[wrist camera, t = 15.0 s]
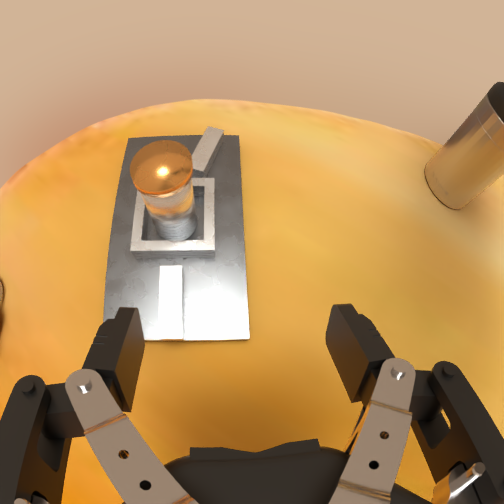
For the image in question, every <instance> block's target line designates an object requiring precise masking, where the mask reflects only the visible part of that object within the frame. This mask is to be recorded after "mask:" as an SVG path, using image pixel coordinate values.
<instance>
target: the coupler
mask: <svg viewBox="0 0 504 504" xmlns="http://www.w3.org/2000/svg"><path fill="white" fill-rule="evenodd" d="M192 174H193V163H192V156H191V153H190V152H189V150H188V149H187V148H186V147H185V146H184V145H183V144H181V143H179V142H176V141H172V140H160V141H155V142H152V143H150V144H148V145H146V146H144V147H143V148H141V149H140V150H139V151H138V152H137V153H136V154H135V156H134V157H133V159H132V161H131V164H130V175H131V178H132V180H133V183H134V185H135V187H136V188H137V190H138V191H139V192H140V193H141V195H142V198H143V200H144V203H145V205H146V207H147V210H148V212H149V214H150V217H151V219H152V221H153V224H154V226H155V228H156V230H157V232H158V234H159V235H160V236H161V237H162V238H163V239H165V240H185V239H187V238H188V237H190V236H191V235H192V234H193V232H194V231H195V229H196V226H197V215H196V208H195V200H194V193H193V185H192Z"/></svg>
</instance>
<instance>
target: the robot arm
mask: <svg viewBox="0 0 504 504" xmlns="http://www.w3.org/2000/svg"><path fill="white" fill-rule="evenodd" d="M503 174H504V83H503V82H497V83H496V84H494V85H493V87H492V88H491V89H490V90H489V92H488V93H487V94H486V95H485V97H484V98H483V99H482V100H481V102H480V103H479V104H478V105H477V107H476V108H475V109H474V110H473V112H472V113H471V114H470V115H469V116H468V118H467V119H466V120H465V121H464V122H463V124H462V125H461V126H460V127H459V128H458V129H457V131H456V132H455V133H454V134H453V135H452V137H451V138H450V139H449V140H448V141H447V142H446V143H445V144H444V146H443V147H442V148H441V149H440V150H439V151H438V152H437V153H436V154H435V156H434V157H433V158H432V159H431V160H430V161H429V162H428V163H427V165H426V167H425V176H426V179H427V182H428V184H429V186H430V188H431V190H432V191H433V193H434V194H435V196H436V197H437V198H438V199H439V200H440V201H441V202H442V203H444V204H445V205H446V206H448V207H450V208H452V209H461V208H463V207H464V206H465V205H467V204H468V203H469V202H470V201H472V200H473V199H474V198H475V197H477V196H478V195H479V194H480V193H482V192H483V191H484V190H485V189H486V188H488V187H489V186H490V185H491V184H492V183H494V182H495V181H496V180H497V179H498V178H499V177H501V176H502V175H503ZM326 345H327V348H328V350H329V352H330V355H331V357H332V359H333V361H334V364H335V366H336V368H337V370H338V373H339V375H340V377H341V379H342V382H343V384H344V386H345V389H346V391H347V393H348V396H349V398H350V400H351V403H354V402H359V401H362V403H363V407H362V409H361V411H360V414H359V416H358V419H357V421H356V424H355V426H354V428H353V431H352V433H351V435H350V438H349V440H348V442H347V444H346V446H345V448H344V450H343V451H340V450H337V449H333V448H329V447H321V446H319V442H318V439H311V440H304V441H297V442H289V443H285V444H282V445H279V446H276V447H273V448H270V449H267V450H264V451H261V452H256V453H254V452H246V451H240V450H234V449H228V448H223V447H215V448H198V447H190V455H189V456H184V457H181V458H178V459H175V460H173V461H171V462H169V463H167V464H165V465H164V466H163V464H162V463H161V462H160V461H159V459H158V458H157V457H156V456H155V454H154V453H153V452H152V450H151V449H150V448H149V446H148V445H147V444H146V442H145V441H144V440H143V438H142V437H141V435H140V434H139V433H138V431H137V430H136V428H135V427H134V425H133V424H132V423H131V421H130V420H129V418H128V417H127V415H126V414H123V412H131V409H132V404H133V399H134V394H135V389H136V384H137V380H138V375H139V371H140V366H141V362H142V358H143V353H144V346H145V341H144V334H143V329H142V324H141V319H140V314H139V310H138V308H137V307H119V309H118V311H117V313H116V316H115V318H114V319H107V320H106V321H105V322H104V323H103V324H102V325H100V327H99V329H98V331H97V334H96V337H95V338H94V341H93V344H92V345H91V348H90V350H89V352H88V355H87V357H86V360H85V362H84V364H83V367H82V369H81V370H77V371H75V372H73V373H72V374H71V375H70V376H69V377H68V378H67V380H66V382H65V383H59V384H51V385H45V383H44V381H43V380H42V379H41V378H40V377H38V376H35V375H28V376H25V377H23V378H21V379H20V380H19V381H18V382H17V383H16V384H15V386H14V388H13V390H12V393H11V395H10V397H9V400H8V402H7V405H6V407H5V410H4V412H3V415H2V418H1V420H0V504H61V500H62V493H63V485H64V479H65V473H66V467H67V461H68V456H69V450H70V445H71V440H72V438H74V437H82V436H86V438H87V440H88V442H89V444H90V446H91V448H92V450H93V451H94V453H95V455H96V457H97V459H98V460H99V462H100V464H101V466H102V467H103V469H104V471H105V472H106V474H107V476H108V477H109V479H110V480H111V482H112V484H113V485H114V487H115V488H116V490H117V491H118V493H119V494H120V496H121V497H122V499H123V500H124V502H123V503H122V504H504V439H503V437H502V435H501V434H500V432H499V430H498V429H497V427H496V425H495V423H494V422H493V420H492V418H491V417H490V415H489V413H488V412H487V410H486V409H485V407H484V405H483V404H482V402H481V401H480V399H479V398H478V396H477V394H476V393H475V391H474V390H473V388H472V387H471V385H470V384H469V382H468V381H467V379H466V378H465V376H464V375H463V373H462V372H461V370H460V369H459V368H458V367H457V366H456V365H454V364H453V363H450V362H447V361H440V362H438V363H436V364H435V365H434V367H433V369H432V371H421V370H415V369H414V367H413V366H412V365H411V364H410V363H409V362H407V361H405V360H403V359H400V358H395V356H394V355H393V353H392V352H391V350H390V349H389V347H388V346H387V344H386V342H385V341H384V339H383V338H382V337H381V335H380V333H379V332H378V330H376V327H375V326H374V324H373V323H372V321H371V320H369V319H368V318H367V317H365V316H364V315H363V314H358V313H357V311H356V310H355V308H354V307H353V305H352V304H336V305H333V307H332V309H331V314H330V318H329V322H328V326H327V331H326ZM442 409H443V410H444V412H445V413H446V415H447V417H448V419H449V421H450V425H451V427H450V429H449V427H448V425H447V423H446V421H445V419H444V417H443V415H442V413H441V411H442ZM122 411H123V412H122ZM410 425H411V427H412V429H413V431H414V434H415V436H416V438H417V440H418V443H419V445H420V447H421V449H422V452H423V454H424V457H425V459H426V461H427V464H428V466H429V468H430V471H431V473H432V476H433V478H434V481H435V483H436V485H435V487H434V490H433V498H432V500H431V502H429V501H427V500H425V499H423V498H421V497H420V496H418V495H416V494H414V493H412V492H410V491H408V490H407V489H405V488H403V487H401V486H400V485H398V484H396V483H394V481H395V478H396V475H397V472H398V469H399V466H400V462H401V459H402V455H403V452H404V448H405V444H406V441H407V437H408V433H409V428H410Z"/></svg>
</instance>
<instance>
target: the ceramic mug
mask: <svg viewBox="0 0 504 504" xmlns="http://www.w3.org/2000/svg"><path fill="white" fill-rule="evenodd" d="M2 294H3V287H2V284H1V282H0V300H1V297H2Z"/></svg>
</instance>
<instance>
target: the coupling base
mask: <svg viewBox="0 0 504 504" xmlns="http://www.w3.org/2000/svg"><path fill="white" fill-rule="evenodd" d="M160 140H172V141H176V142H179V143H181V144H183V145H184V146H185V147H186V148H187V149H188V150H189V152H190V153H191V156H192V163H193V174H192V185H193V193H194V200H195V208H196V215H197V226H196V229H195V231H194V232H193V234H192V235H191V236H190V237H188V238H187V239H185V240H165V239H163V238H162V237H161V236H160V235H159V234H158V232H157V230H156V228H155V226H154V224H153V221H152V219H151V217H150V214H149V212H148V210H147V207H146V205H145V203H144V200H143V198H142V195H141V193H140V192H139V191H138V190H137V188H136V187H135V185H134V183H133V180H132V178H131V175H130V164H131V161H132V159H133V157H134V156H135V154H136V153H137V152H138V151H139V150H140V149H141V148H143V147H144V146H146V145H148V144H150V143H152V142H155V141H160ZM119 307H137V308H138V310H139V314H140V319H141V324H142V329H143V334H144V341H233V340H248V339H250V335H249V318H248V300H247V282H246V264H245V246H244V227H243V208H242V188H241V168H240V147H239V136H236V135H224V130H221V129H217V128H213V127H209V126H208V127H207V129H206V131H205V133H204V134H203V135H184V136H157V137H140V138H129V139H128V143H127V147H126V151H125V156H124V160H123V165H122V170H121V175H120V180H119V185H118V190H117V196H116V202H115V208H114V214H113V221H112V228H111V235H110V243H109V252H108V261H107V272H106V284H105V298H104V319H103V323H104V322H105V321H106V320H107V319H114V318H115V316H116V313H117V311H118V309H119Z"/></svg>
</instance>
